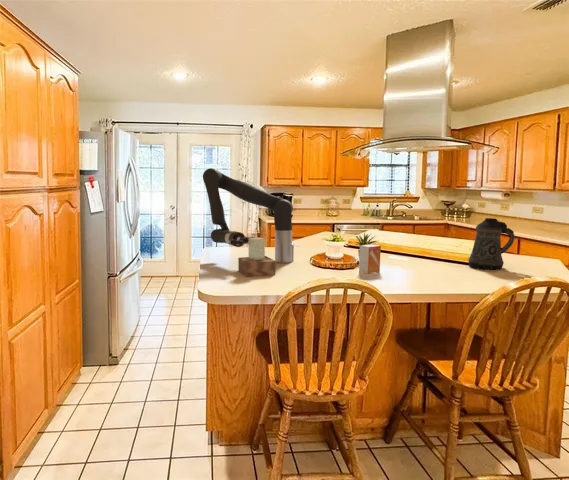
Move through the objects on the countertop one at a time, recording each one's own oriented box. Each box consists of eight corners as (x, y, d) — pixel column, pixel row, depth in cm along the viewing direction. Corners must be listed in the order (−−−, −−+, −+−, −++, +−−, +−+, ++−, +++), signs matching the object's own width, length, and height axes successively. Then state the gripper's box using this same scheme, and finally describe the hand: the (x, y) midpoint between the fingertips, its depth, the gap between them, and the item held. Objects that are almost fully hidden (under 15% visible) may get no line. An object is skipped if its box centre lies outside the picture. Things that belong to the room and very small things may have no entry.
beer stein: (462, 264, 239) (465, 217, 235) (499, 264, 239) (502, 217, 235) (476, 270, 222) (479, 220, 219) (515, 270, 222) (519, 220, 219)
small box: (367, 274, 214) (368, 247, 212) (358, 271, 219) (359, 245, 217) (380, 272, 218) (381, 245, 216) (370, 269, 223) (371, 243, 222)
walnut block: (265, 269, 225) (265, 255, 224) (275, 275, 212) (275, 260, 211) (238, 271, 220) (238, 257, 219) (246, 277, 207) (246, 262, 206)
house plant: (361, 265, 234) (362, 234, 231) (344, 261, 246) (345, 231, 243) (382, 263, 241) (383, 232, 239) (365, 258, 253) (365, 229, 250)
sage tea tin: (258, 257, 218) (258, 237, 217) (264, 259, 214) (264, 238, 212) (248, 259, 215) (248, 238, 214) (254, 260, 211) (254, 239, 209)
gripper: (222, 232, 227) (237, 236, 213) (247, 230, 235) (263, 233, 221) (222, 247, 228) (237, 251, 214) (247, 244, 236) (263, 249, 222)
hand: (250, 242), depth 218 cm, fingers open, 8 cm apart
